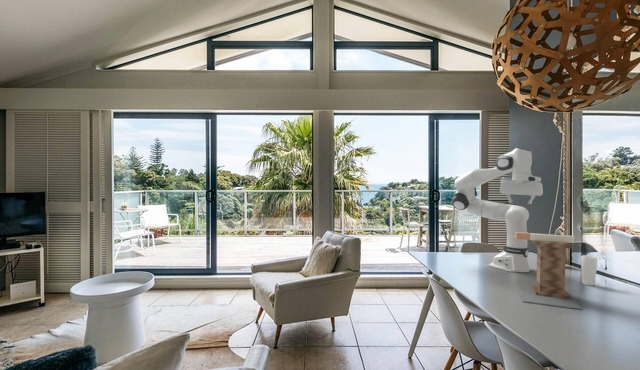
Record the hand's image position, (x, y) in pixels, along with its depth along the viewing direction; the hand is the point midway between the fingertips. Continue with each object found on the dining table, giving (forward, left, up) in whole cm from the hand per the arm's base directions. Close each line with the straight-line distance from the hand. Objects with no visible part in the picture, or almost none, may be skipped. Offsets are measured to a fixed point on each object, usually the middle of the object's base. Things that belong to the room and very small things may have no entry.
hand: (519, 203), depth 181 cm
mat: (+21, -20, -43) cm, 52 cm away
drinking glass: (+24, +25, -43) cm, 56 cm away
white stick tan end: (+14, -9, -17) cm, 24 cm away
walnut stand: (+18, -7, -43) cm, 47 cm away
